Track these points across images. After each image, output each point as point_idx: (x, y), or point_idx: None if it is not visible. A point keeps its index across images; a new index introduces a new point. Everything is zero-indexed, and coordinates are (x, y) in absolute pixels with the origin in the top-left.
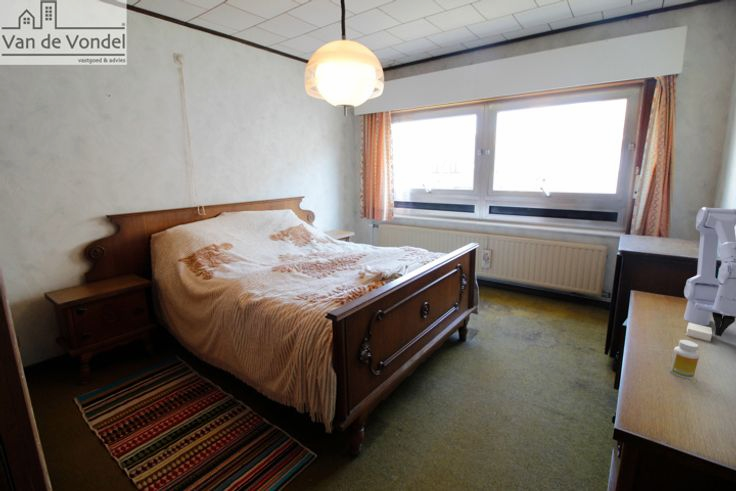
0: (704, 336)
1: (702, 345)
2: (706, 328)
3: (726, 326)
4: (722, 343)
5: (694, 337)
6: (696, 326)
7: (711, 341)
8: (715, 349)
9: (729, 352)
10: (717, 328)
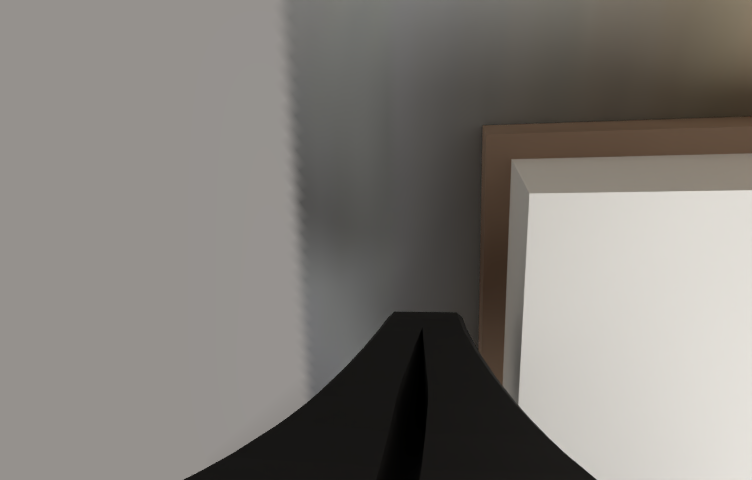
0: (614, 172)
1: (596, 25)
2: (588, 450)
3: (301, 427)
4: (366, 323)
5: (729, 141)
6: (748, 436)
7: (494, 167)
8: (437, 9)
9: (286, 52)
10: (465, 370)
